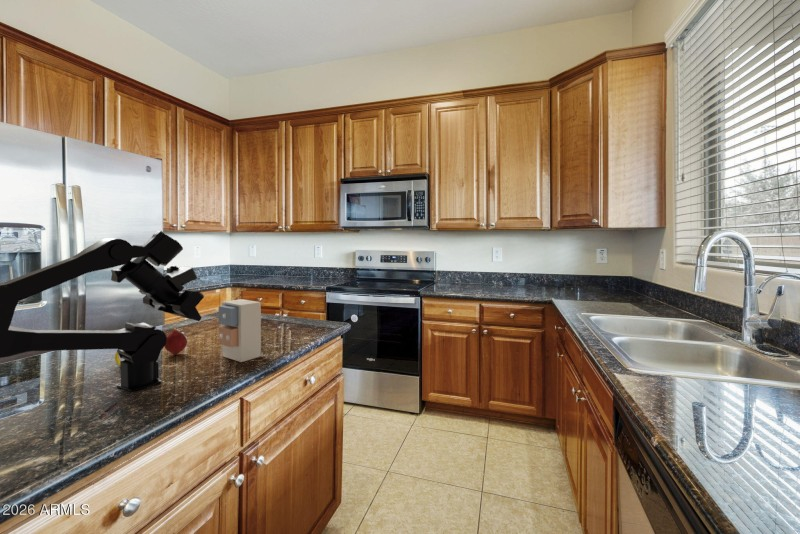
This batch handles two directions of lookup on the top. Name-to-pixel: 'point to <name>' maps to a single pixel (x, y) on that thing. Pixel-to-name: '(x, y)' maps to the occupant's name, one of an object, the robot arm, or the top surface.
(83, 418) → the top surface
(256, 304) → the box
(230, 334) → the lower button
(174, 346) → the onion
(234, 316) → the upper drawer
